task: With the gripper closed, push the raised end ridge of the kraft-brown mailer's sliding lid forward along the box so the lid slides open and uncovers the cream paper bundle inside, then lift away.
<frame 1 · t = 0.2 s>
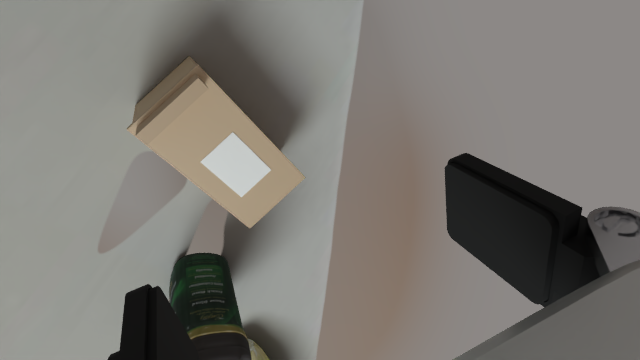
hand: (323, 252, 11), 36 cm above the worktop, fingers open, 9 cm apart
box: (215, 130, 45), on the worktop
coffee jar: (197, 277, 53), on the worktop
lid: (228, 159, 37), point 10 cm above the worktop, slide at 0.0 cm
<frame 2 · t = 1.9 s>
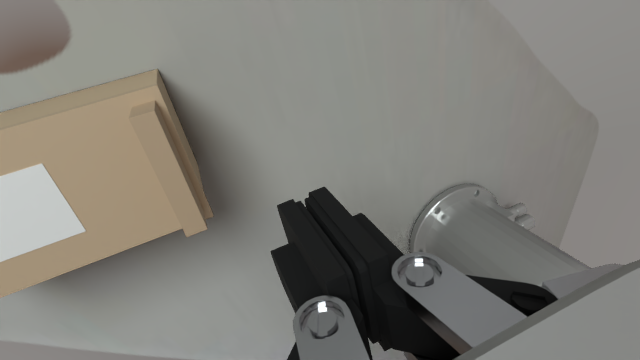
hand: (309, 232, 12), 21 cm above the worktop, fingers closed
box: (70, 153, 27), on the worktop
lid: (30, 216, 19), point 10 cm above the worktop, slide at 0.0 cm
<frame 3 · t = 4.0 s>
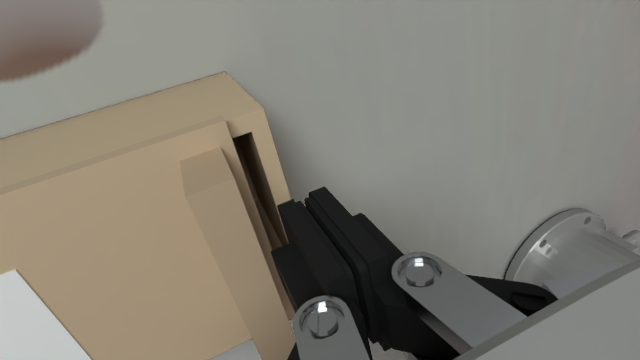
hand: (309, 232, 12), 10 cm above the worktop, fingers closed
box: (99, 195, 19), on the worktop
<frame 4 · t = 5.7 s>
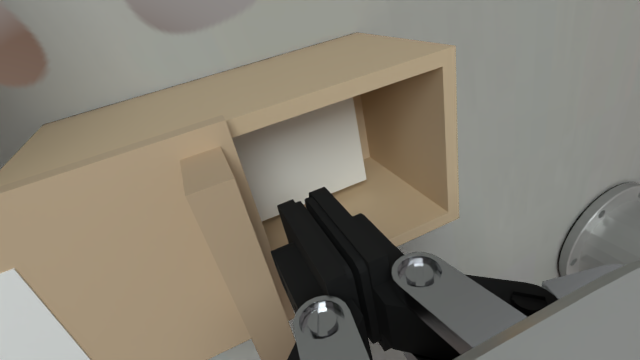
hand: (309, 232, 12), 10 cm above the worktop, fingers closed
box: (240, 145, 20), on the worktop
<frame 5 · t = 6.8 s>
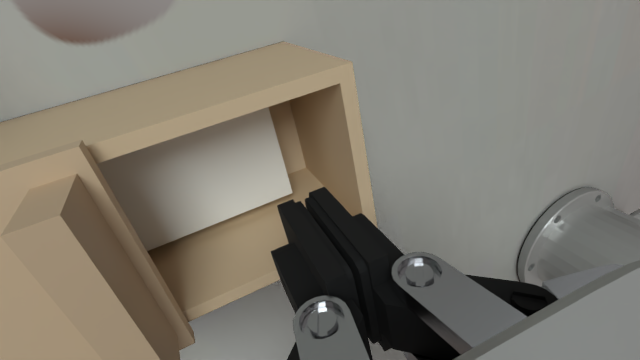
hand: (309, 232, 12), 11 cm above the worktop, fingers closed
box: (163, 157, 20), on the worktop
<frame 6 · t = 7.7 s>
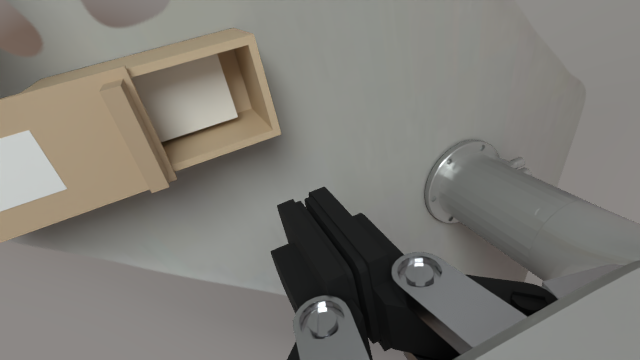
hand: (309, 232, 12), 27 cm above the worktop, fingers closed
box: (162, 96, 33), on the worktop
lid: (19, 174, 23), point 10 cm above the worktop, slide at 9.1 cm
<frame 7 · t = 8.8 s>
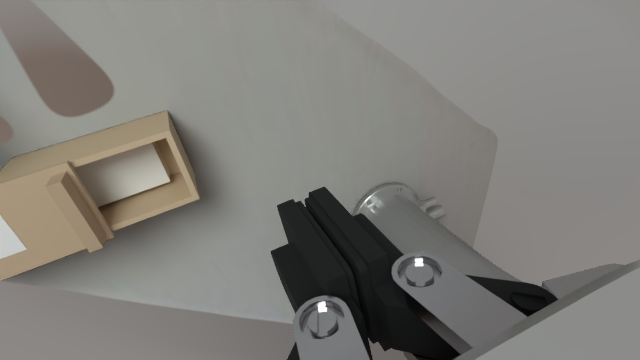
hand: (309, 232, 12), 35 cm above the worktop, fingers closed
box: (111, 164, 42), on the worktop
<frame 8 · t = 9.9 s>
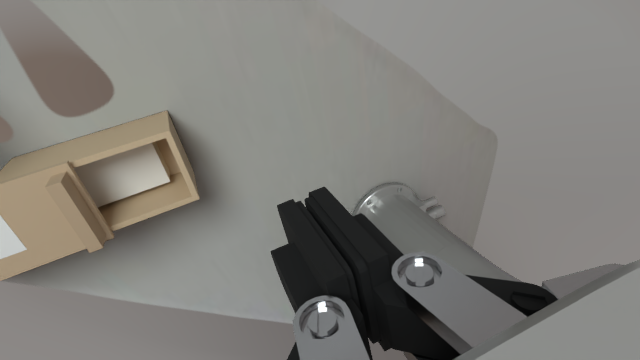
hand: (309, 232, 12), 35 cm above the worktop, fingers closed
box: (111, 164, 42), on the worktop
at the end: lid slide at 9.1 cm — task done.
